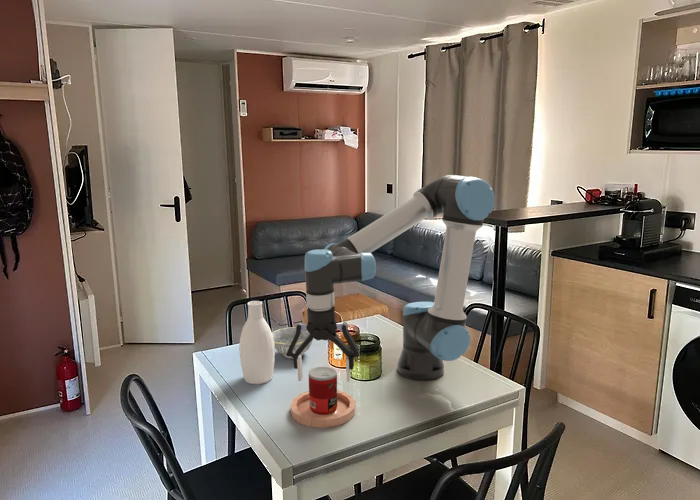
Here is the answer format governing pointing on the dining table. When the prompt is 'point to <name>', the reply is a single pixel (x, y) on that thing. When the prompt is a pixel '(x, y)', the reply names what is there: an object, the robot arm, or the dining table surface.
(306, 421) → the tray
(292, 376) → the dining table surface
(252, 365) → the bottle
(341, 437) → the dining table surface
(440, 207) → the robot arm
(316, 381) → the canned food
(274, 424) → the dining table surface
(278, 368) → the dining table surface
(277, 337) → the bowl
